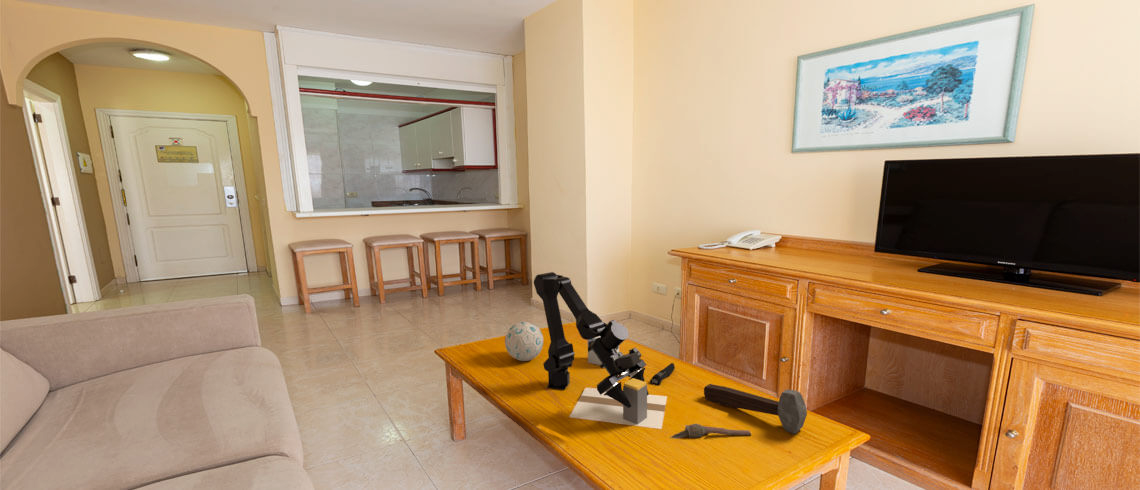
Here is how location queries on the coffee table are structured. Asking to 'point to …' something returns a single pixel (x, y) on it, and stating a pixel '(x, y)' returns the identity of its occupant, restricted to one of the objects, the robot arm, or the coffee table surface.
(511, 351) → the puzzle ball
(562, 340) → the robot arm
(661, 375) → the electric trimmer
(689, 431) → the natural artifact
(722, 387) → the hammer
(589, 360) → the light bulb box
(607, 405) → the board
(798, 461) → the coffee table surface
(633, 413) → the yellow-topped grey block
